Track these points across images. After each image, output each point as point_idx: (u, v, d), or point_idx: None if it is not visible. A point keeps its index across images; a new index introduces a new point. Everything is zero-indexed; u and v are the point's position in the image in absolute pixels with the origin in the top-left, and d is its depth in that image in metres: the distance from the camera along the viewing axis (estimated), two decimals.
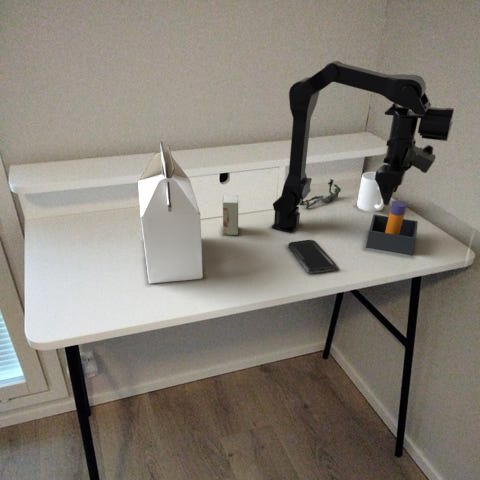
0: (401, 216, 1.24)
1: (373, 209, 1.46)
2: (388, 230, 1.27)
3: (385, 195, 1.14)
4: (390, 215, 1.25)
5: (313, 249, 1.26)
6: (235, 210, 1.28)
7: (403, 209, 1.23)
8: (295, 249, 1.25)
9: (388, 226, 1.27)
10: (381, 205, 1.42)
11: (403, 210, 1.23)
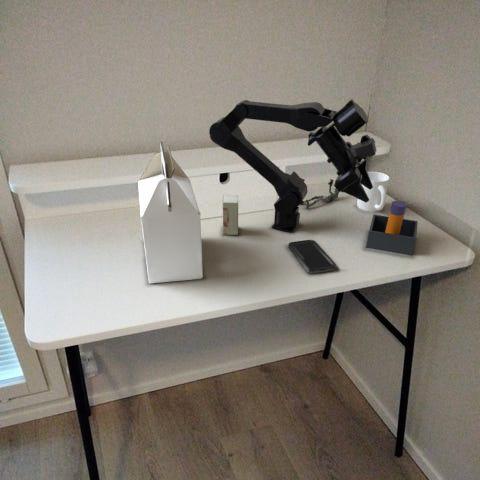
0: (401, 216, 1.24)
1: (373, 209, 1.46)
2: (388, 230, 1.27)
3: (359, 195, 1.20)
4: (390, 215, 1.25)
5: (313, 249, 1.26)
6: (235, 210, 1.28)
7: (403, 209, 1.23)
8: (295, 249, 1.25)
9: (388, 226, 1.27)
10: (381, 205, 1.42)
11: (403, 210, 1.23)
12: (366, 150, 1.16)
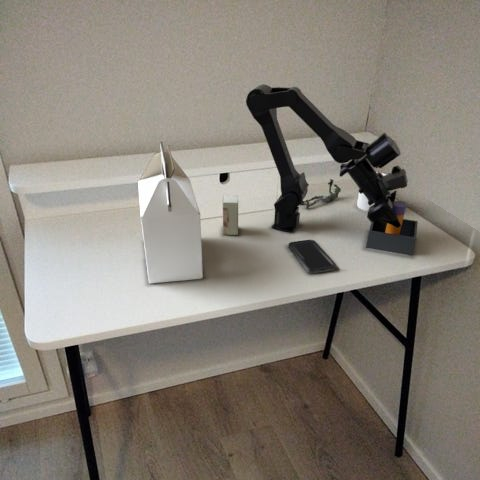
0: (401, 216, 1.24)
1: None
2: (388, 230, 1.27)
3: (392, 221, 1.24)
4: None
5: (313, 249, 1.26)
6: (235, 210, 1.28)
7: (403, 209, 1.23)
8: (295, 249, 1.25)
9: (388, 226, 1.27)
10: None
11: (403, 210, 1.23)
12: (398, 182, 1.18)
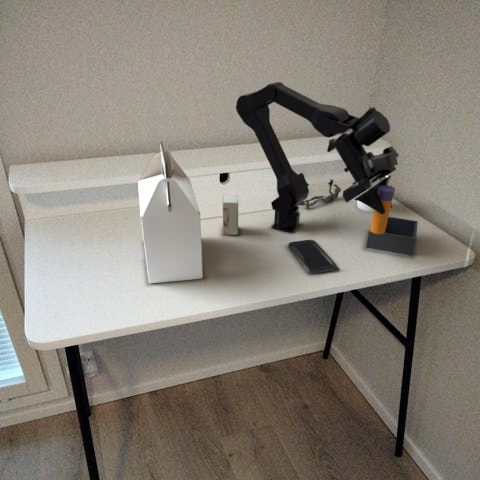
0: (387, 202, 1.14)
1: (373, 209, 1.46)
2: (373, 217, 1.18)
3: (375, 206, 1.15)
4: None
5: (313, 249, 1.26)
6: (235, 210, 1.28)
7: (388, 194, 1.13)
8: (295, 249, 1.25)
9: (374, 212, 1.17)
10: None
11: (389, 195, 1.13)
12: (382, 162, 1.09)
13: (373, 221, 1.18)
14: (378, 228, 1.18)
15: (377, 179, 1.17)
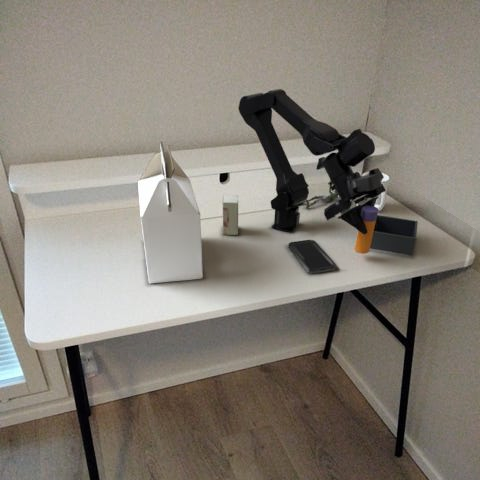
0: (369, 223, 1.15)
1: None
2: (357, 236, 1.19)
3: (357, 225, 1.16)
4: None
5: (313, 249, 1.26)
6: (235, 210, 1.28)
7: (370, 215, 1.13)
8: (295, 249, 1.25)
9: (358, 231, 1.18)
10: (381, 205, 1.42)
11: (371, 216, 1.14)
12: (364, 183, 1.10)
13: (357, 240, 1.19)
14: (361, 248, 1.19)
15: (364, 199, 1.18)
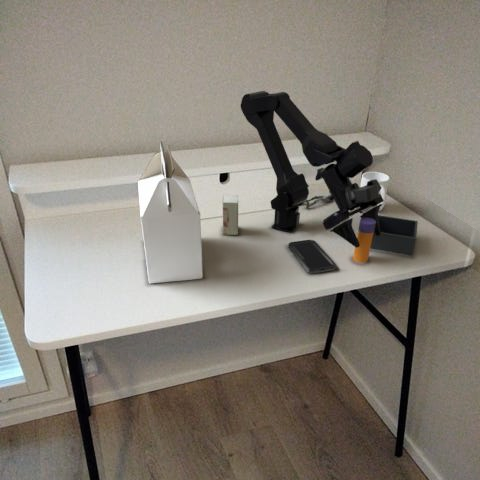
0: (367, 234, 1.17)
1: None
2: (355, 247, 1.21)
3: (349, 239, 1.16)
4: (358, 231, 1.19)
5: (313, 249, 1.26)
6: (235, 210, 1.28)
7: (368, 227, 1.15)
8: (295, 249, 1.25)
9: None
10: None
11: (368, 228, 1.16)
12: (362, 195, 1.12)
13: (355, 251, 1.21)
14: (359, 258, 1.21)
15: (362, 209, 1.19)
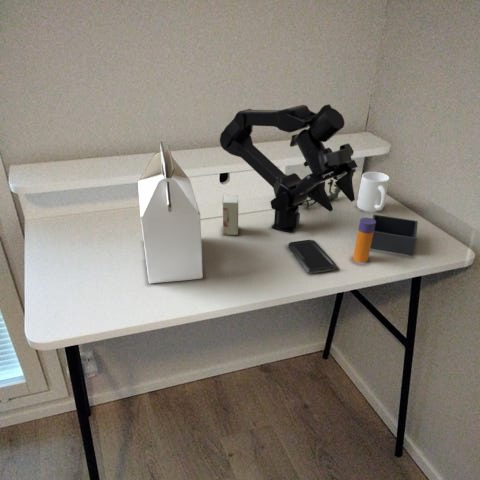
0: (367, 234, 1.17)
1: (373, 209, 1.46)
2: (355, 247, 1.21)
3: (323, 202, 1.17)
4: (358, 231, 1.19)
5: (313, 249, 1.26)
6: (235, 210, 1.28)
7: (368, 227, 1.15)
8: (295, 249, 1.25)
9: (356, 242, 1.20)
10: (381, 205, 1.42)
11: (368, 228, 1.16)
12: (334, 157, 1.13)
13: (355, 251, 1.21)
14: (359, 258, 1.21)
15: (336, 175, 1.21)
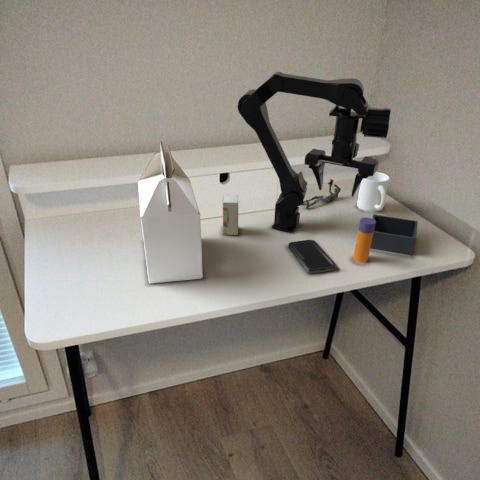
0: (367, 234, 1.17)
1: (373, 209, 1.46)
2: (355, 247, 1.21)
3: (357, 187, 1.25)
4: (358, 231, 1.19)
5: (313, 249, 1.26)
6: (235, 210, 1.28)
7: (368, 227, 1.15)
8: (295, 249, 1.25)
9: (356, 242, 1.20)
10: (381, 205, 1.42)
11: (368, 228, 1.16)
12: (357, 148, 1.26)
13: (355, 251, 1.21)
14: (359, 258, 1.21)
15: None
